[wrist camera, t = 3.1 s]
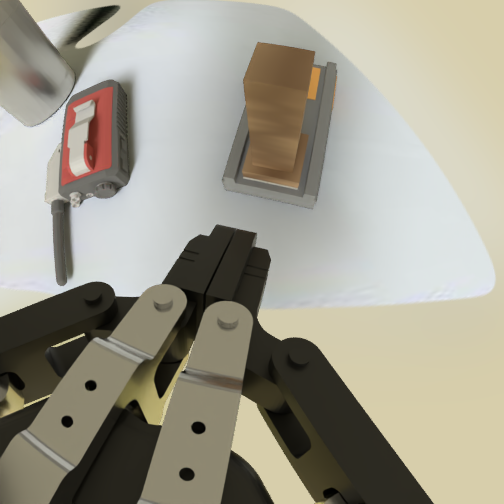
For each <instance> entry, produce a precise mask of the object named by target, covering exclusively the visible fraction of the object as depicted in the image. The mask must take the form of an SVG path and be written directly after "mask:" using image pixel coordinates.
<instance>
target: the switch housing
mask: <svg viewBox="0 0 504 504" xmlns="http://www.w3.org/2000/svg"><path fill="white" fill-rule="evenodd" d="M336 75H337V70H336V63H331V62H328V63H327V67H323V66H319V65H314V64H313V68H312V74H311V80H310V85H309V91H308V97H307V102H306V108H305V113H304V119H303V124H302V129H301V133H302V134H307V135H309V137H308V142H307V147H306V153H305V158H304V163H303V167H302V172H301V177H300V182H299V186H298V188H294V187H290V186H285V185H281V184H276V183H272V182H267V181H262V180H257V179H252V178H247V177H243V173H242V170H243V166H244V162H245V159H246V155H247V152H248V148H249V145H250V137H249V128H248V119H247V110H246V105H245V108H244V111H243V114H242V117H241V120H240V124H239V127H238V130H237V133H236V136H235V139H234V142H233V146H232V149H231V152H230V155H229V159H228V162H227V165H226V169H225V172H224V175H223V179H222V182H223V185H224V187H225V190H228V191H233V192H238V193H243V194H247V195H252V196H257V197H262V198H266V199H271V200H275V201H280V202H284V203H289V204H293V205H297V206H302V207H306V208H310V209H313V207H314V205H315V203H316V201H317V196H318V190H319V185H320V179H321V174H322V168H323V162H324V156H325V150H326V144H327V138H328V132H329V125H330V119H331V112H332V109H333V103H334V96H335V88H336V80H337V76H336Z"/></svg>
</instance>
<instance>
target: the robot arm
mask: <svg viewBox="0 0 504 504" xmlns="http://www.w3.org/2000/svg"><path fill="white" fill-rule="evenodd" d="M74 82H75V73H74V71H73V70H72V69H71V68H70V66H69V65H68V64H67V62H66V61H65V60H64V59H63V57H62V56H61V55H60V53H59V52H58V51H57V49H56V48H55V47H54V45H53V44H52V43H51V42H50V40H49V39H48V38H47V36H46V35H45V34H44V32H43V31H42V30H41V29H40V27H39V26H38V25H37V23H36V22H35V21H34V19H33V18H32V17H31V15H30V14H29V13H28V11H27V10H26V9H25V8H24V6H23V5H22V3H21V2H20V1H19V0H0V106H1V107H3V108H4V109H5V110H6V111H7V112H8V113H10V114H11V115H12V116H13V117H15V118H16V119H17V120H18V121H20V122H21V123H22V124H23V125H25V126H35V125H37V124H39V123H41V122H43V121H45V120H46V119H47V118H49V117H50V116H51V115H52V114H53V113H54V112H55V111H56V110H57V109H58V108H59V107H60V106H61V105H62V104H63V102H64V101H65V100H66V98H67V97H68V95H69V94H70V92H71V90H72V88H73V85H74ZM256 238H257V233H253V232H249V231H245V230H240V229H237V230H236V229H235V228H231V227H226V226H222V225H216V226H215V228H214V229H213V231H212V233H211V234H210V236H205V235H201V234H200V235H198V236H197V237H195V238H193V239H192V240H190V241H189V243H188V244H187V246H186V247H185V249H184V251H183V252H182V253H181V255H180V256H179V259H177V261H176V262H175V264H174V265H173V267H172V268H171V270H170V271H169V273H168V275H167V276H166V278H165V279H164V281H163V282H162V284H160V285H155V286H152V287H150V288H148V289H147V290H146V291H145V292H144V293H143V294H142V295H141V296H140V297H117V296H115V292H114V290H113V288H112V287H111V286H110V285H108V284H106V283H104V282H90V283H87V284H84V285H82V286H79V287H76V288H74V289H71V290H68V291H66V292H63V293H61V294H58V295H55V296H53V297H50V298H48V299H45V300H43V301H40V302H38V303H35V304H32V305H30V306H27V307H25V308H23V309H20V310H17V311H15V312H12V313H10V314H7V315H5V316H3V317H0V504H274V502H273V501H272V499H271V497H270V495H269V493H268V491H267V490H266V488H265V486H264V485H263V482H262V480H261V479H260V477H259V475H258V474H257V473H256V471H255V470H254V469H253V468H252V467H251V465H250V464H249V463H248V462H247V461H245V460H244V459H243V458H242V457H241V456H239V455H238V454H236V453H235V452H233V451H232V450H231V446H232V441H233V436H234V430H235V425H236V419H237V414H238V409H239V403H240V397H241V394H242V395H243V396H245V397H247V398H248V399H250V400H252V401H253V402H255V403H257V407H258V409H259V411H260V413H261V415H262V416H263V418H264V420H265V422H266V423H267V425H268V427H269V428H270V430H271V432H272V434H273V435H274V437H275V439H276V440H277V442H278V444H279V445H280V447H281V449H282V450H283V452H284V454H285V455H286V457H287V459H288V460H289V462H290V463H291V465H292V467H293V468H294V470H295V471H296V473H297V475H298V476H299V478H300V479H301V481H302V482H303V484H304V486H305V487H306V489H307V490H308V492H309V493H310V495H311V496H312V498H313V499H314V501H315V502H316V503H315V504H434V503H433V502H432V501H431V499H430V498H429V497H428V495H427V494H426V493H425V491H424V490H423V489H422V487H421V486H420V485H419V483H418V482H417V481H416V479H415V478H414V476H413V475H412V474H411V472H410V471H409V470H408V468H407V467H406V466H405V464H404V463H403V462H402V460H401V459H400V458H399V456H398V455H397V454H396V452H395V451H394V450H393V448H392V447H391V446H390V444H389V443H388V441H387V440H386V439H385V438H384V436H383V435H382V433H381V432H380V431H379V429H378V428H377V427H376V425H375V424H374V423H373V421H372V420H371V419H370V417H369V416H368V414H367V413H366V412H365V410H364V409H363V408H362V406H361V405H360V404H359V403H358V401H357V400H356V398H355V397H354V396H353V394H352V393H351V392H350V390H349V389H348V388H347V386H346V385H345V383H344V382H343V381H342V379H341V378H340V377H339V375H338V374H337V373H336V371H335V370H334V368H333V367H332V366H331V364H330V363H329V362H328V360H327V359H326V358H325V356H324V355H323V354H322V352H321V351H320V350H319V349H318V347H317V346H316V345H314V344H313V343H312V342H310V341H308V340H306V339H302V338H294V337H293V338H287V339H284V340H282V341H281V340H279V339H277V338H275V337H273V336H272V335H270V334H268V333H267V332H266V331H265V330H263V328H262V327H261V325H260V324H259V322H258V319H257V316H258V312H259V308H260V304H261V301H262V297H263V293H264V289H265V285H266V280H267V276H268V271H269V267H270V262H271V258H270V256H269V253H268V250H266V249H262V248H257V247H255V244H256ZM83 333H84V334H85V336H83V337H80V338H78V339H75V340H73V341H71V342H68V343H66V344H63V345H61V346H58V347H51V346H54V345H56V344H59V343H61V342H63V341H66V340H68V339H70V338H73V337H76V336H78V335H80V334H83ZM193 341H195V342H194V344H193ZM192 344H193V348H192V351H191V354H190V357H189V351H190V348H191V346H192ZM188 357H189V360H188ZM187 360H188V363H187V366H186V369H185V370H184V371H182V370H183V368H184V366H185V364H186V362H187ZM175 383H176V384H175ZM174 385H175V387H174ZM173 387H174V390H173V393H172V396H171V399H170V403H169V406H168V409H167V412H166V415H165V418H164V422H163V425H162V426H161V425H159V423H160V421H161V418H162V415H163V408H164V405H165V402H166V400H167V398H168V396H169V394H170V393H171V391H172V389H173ZM49 394H52V395H51V396H50V397H48V398H46V399H43V400H41V401H39V402H36V403H34V404H32V405H30V406H27V407H25V408H24V407H23V406H24V404H27V403H29V402H32V401H35V400H37V399H40V398H42V397H45V396H47V395H49Z"/></svg>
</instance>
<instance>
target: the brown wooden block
mask: <svg viewBox="0 0 504 504" xmlns="http://www.w3.org/2000/svg"><path fill="white" fill-rule="evenodd" d="M314 56H315V51H310V50H305V49H299V48H294V47H288V46H282V45H275V44H268V43H260V42H258V43H257V45H256V48H255V50H254V53H253V56H252V58H251V61H250V63H249V66H248V69H247V71H246V74H245V77H244V79H243V83H244V92H245V101H246V110H247V119H248V128H249V137H250V145H249V148H248V152H247V155H246V159H245V162H244V166H243V170H242V173H243V177H247V178H252V179H257V180H262V181H267V182H272V183H276V184H281V185H285V186H290V187H294V188H298V186H299V182H300V177H301V172H302V167H303V163H304V158H305V153H306V147H307V142H308V137H309V135H307V134H302V133H301V129H302V124H303V119H304V113H305V108H306V102H307V97H308V91H309V85H310V80H311V74H312V68H313V62H314Z"/></svg>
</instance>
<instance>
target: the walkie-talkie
mask: <svg viewBox="0 0 504 504" xmlns="http://www.w3.org/2000/svg"><path fill="white" fill-rule="evenodd" d="M126 96H127V95H126V93H125V92H124V90H123V89H122V87H121V86H120V84H119V83H118V82H116V81H114V80H106V81H104V82H101V83H99V84H97V85H94V86H92V87H90V88H88V89H85V90H83V91H81V92H79V93H77V94H75V95H73V96H72V97H71V98H70V100H69V102H68V103H67V105H66V109H65V117H64V125H63V133H62V142H61V143H60V144H59V145H58V146H57V148H56V150H55V152H54V153H53V155H52V157H51V159H50V160H49V162H48V167H47V181H46V193H45V202H46V203H48V204H51V214H52V215H53V242H54V258H55V271H56V281H57V283H58V285H60V286H64V285H65V284H66V283H67V275H66V265H65V253H64V237H63V214H64V203H66V202H69V201H70V203H71V204H72V207H79V206H80V202H81V201H82V200H85V199H88V198H90V197H93V196H96V197H97V198H110V197H112V196H114V195H115V194H116V192H117V188H120V187H123V186H126V185H127V184H128V182H129V165H128V142H127V139H126V137H127V135H126V133H127V130H126V128H127V126H126V124H127V122H126V120H127V117H126V116H127V113H126V112H127V109H126V108H127V105H126V104H127V102H126V100H127V98H126Z"/></svg>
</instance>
